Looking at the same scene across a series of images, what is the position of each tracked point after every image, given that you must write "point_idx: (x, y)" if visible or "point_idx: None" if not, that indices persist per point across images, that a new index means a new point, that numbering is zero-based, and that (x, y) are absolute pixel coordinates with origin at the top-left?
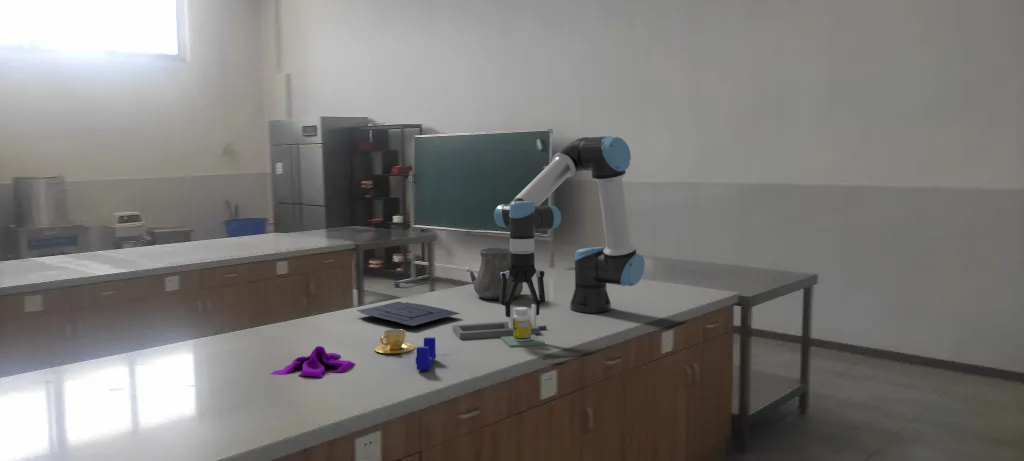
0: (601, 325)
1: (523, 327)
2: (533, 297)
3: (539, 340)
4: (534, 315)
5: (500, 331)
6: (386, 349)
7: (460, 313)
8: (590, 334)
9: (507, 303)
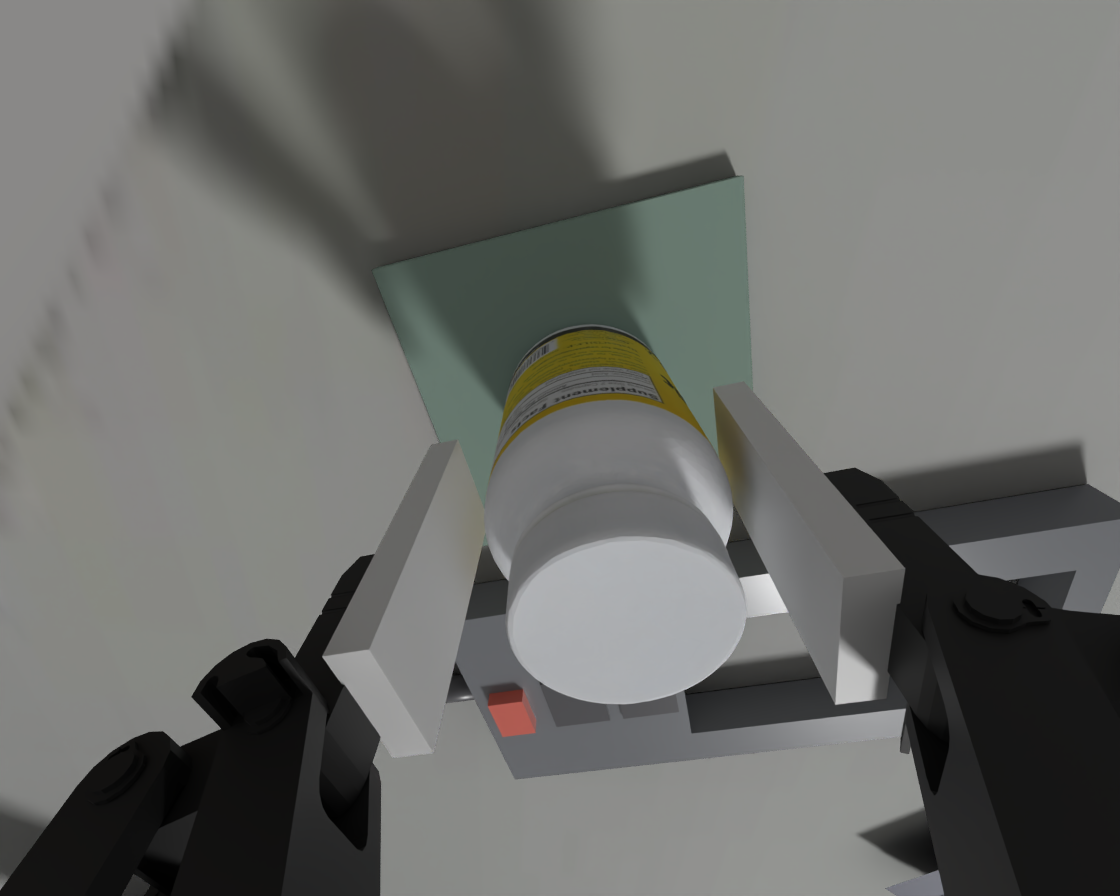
0: (92, 731)
1: (587, 366)
2: (305, 884)
3: (431, 363)
4: (415, 524)
5: (755, 569)
6: None
7: (889, 888)
8: (81, 565)
9: (1071, 640)
